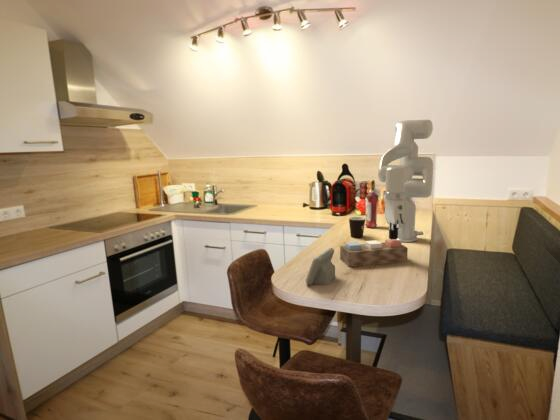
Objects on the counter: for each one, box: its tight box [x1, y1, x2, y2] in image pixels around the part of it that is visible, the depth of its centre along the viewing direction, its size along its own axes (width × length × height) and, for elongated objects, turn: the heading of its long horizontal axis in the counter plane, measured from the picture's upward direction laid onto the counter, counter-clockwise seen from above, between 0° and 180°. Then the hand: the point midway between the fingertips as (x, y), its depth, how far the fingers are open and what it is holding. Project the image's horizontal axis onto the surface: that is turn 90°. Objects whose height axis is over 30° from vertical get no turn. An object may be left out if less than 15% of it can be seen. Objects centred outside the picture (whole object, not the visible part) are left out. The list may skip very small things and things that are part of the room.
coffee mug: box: [348, 216, 366, 239], centre depth 194 cm, size 12×9×10 cm
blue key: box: [345, 241, 362, 251], centre depth 152 cm, size 5×5×4 cm
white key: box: [365, 239, 383, 249], centre depth 153 cm, size 5×5×4 cm
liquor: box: [364, 179, 379, 229], centre depth 212 cm, size 7×7×28 cm
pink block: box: [384, 238, 403, 248], centre depth 155 cm, size 5×5×4 cm
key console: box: [339, 242, 409, 267], centre depth 154 cm, size 26×10×6 cm, turn 100°
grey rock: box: [305, 247, 336, 286], centre depth 133 cm, size 16×9×11 cm, turn 139°
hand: (393, 238), depth 154 cm, fingers closed
